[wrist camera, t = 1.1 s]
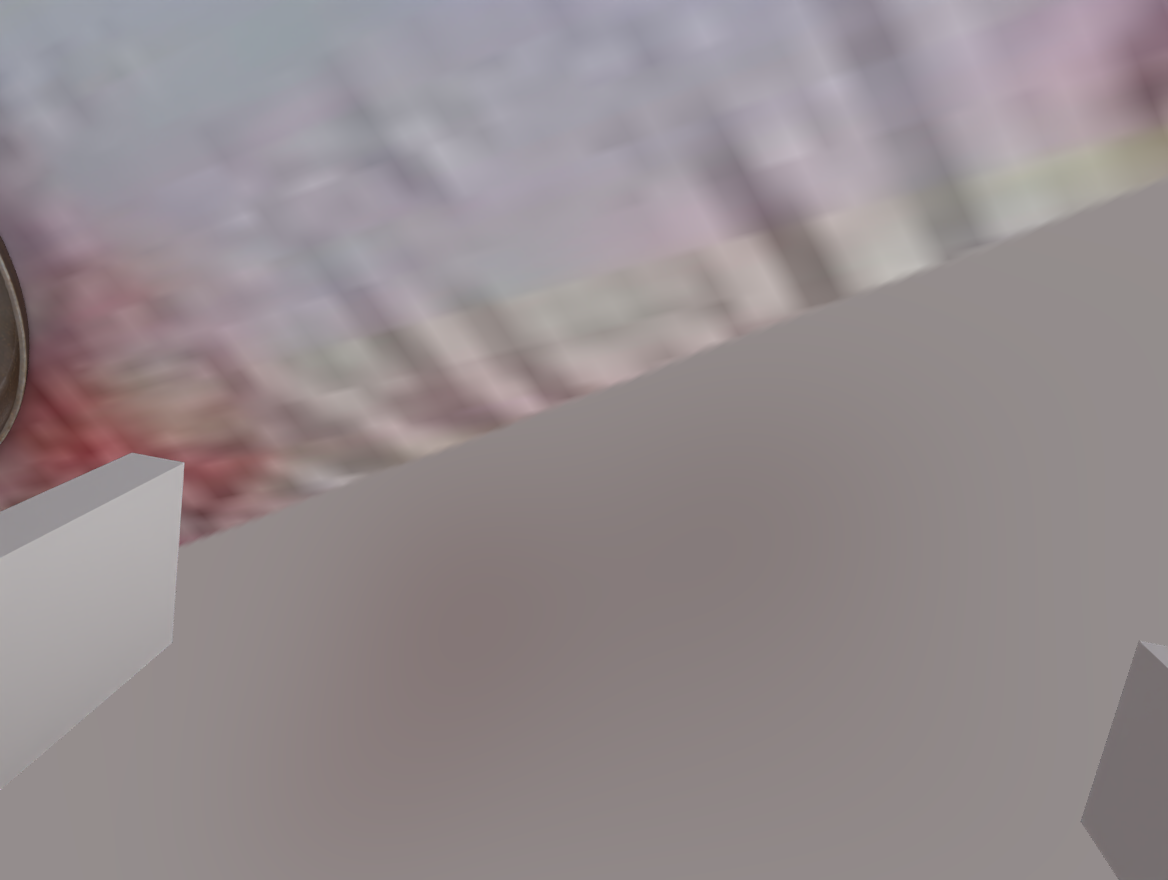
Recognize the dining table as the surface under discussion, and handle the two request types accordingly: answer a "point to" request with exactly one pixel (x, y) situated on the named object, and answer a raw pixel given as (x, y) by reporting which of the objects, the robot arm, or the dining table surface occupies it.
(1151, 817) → the robot arm
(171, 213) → the dining table surface
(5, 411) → the plant saucer
